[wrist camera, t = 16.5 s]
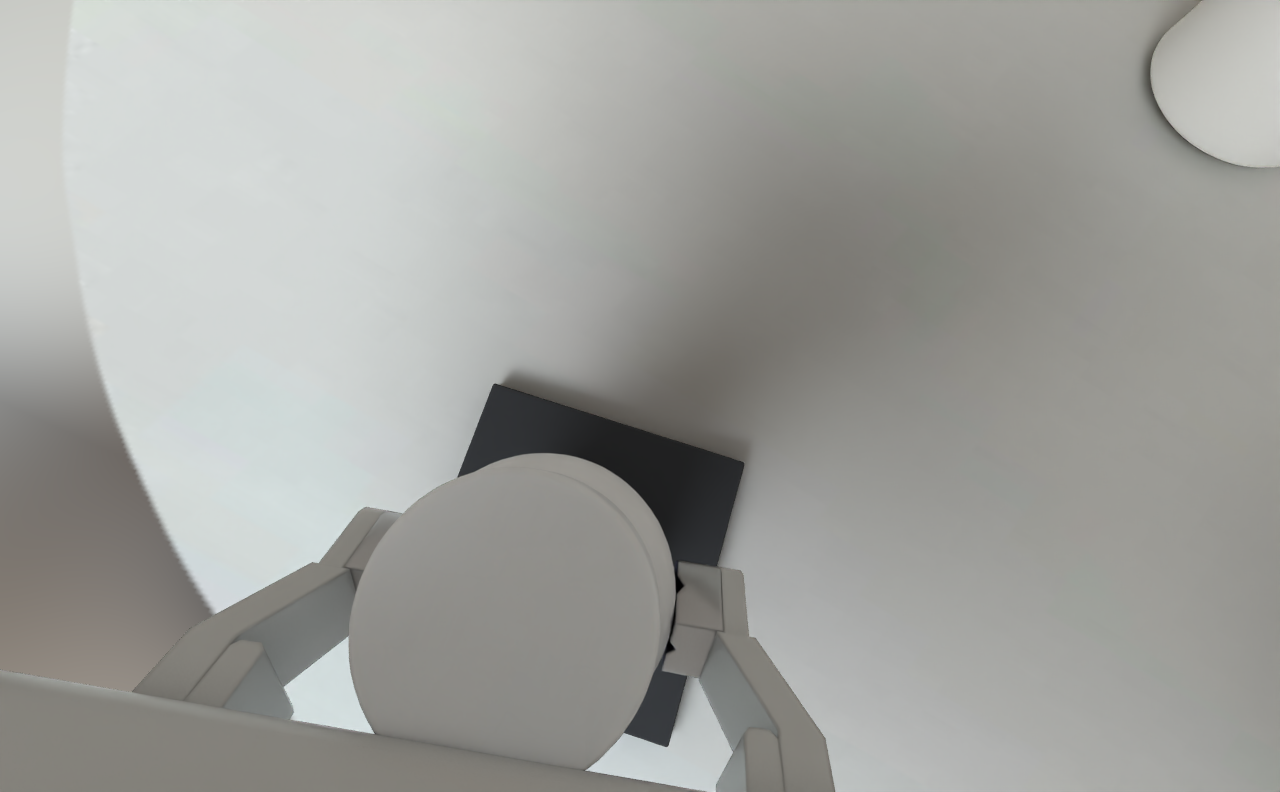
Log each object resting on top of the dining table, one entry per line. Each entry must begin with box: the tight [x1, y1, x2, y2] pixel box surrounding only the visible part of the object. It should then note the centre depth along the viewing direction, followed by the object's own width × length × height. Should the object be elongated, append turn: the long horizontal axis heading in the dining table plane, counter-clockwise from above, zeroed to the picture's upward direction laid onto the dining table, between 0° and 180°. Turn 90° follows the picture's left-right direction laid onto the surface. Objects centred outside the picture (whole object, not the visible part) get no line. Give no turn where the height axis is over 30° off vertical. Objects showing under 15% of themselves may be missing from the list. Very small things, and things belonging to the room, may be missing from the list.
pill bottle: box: [349, 453, 676, 771], centre depth 12 cm, size 6×6×10 cm
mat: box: [457, 384, 744, 747], centre depth 19 cm, size 10×10×1 cm
